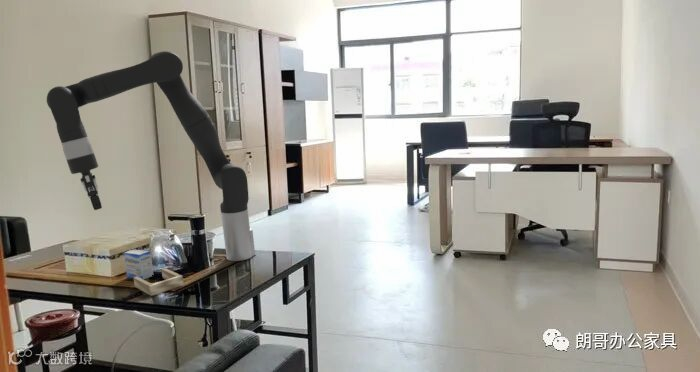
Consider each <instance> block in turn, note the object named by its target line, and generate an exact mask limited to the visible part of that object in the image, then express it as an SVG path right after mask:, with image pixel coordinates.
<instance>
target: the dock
mask: <svg viewBox="0 0 700 372" xmlns="http://www.w3.org/2000/svg"><path fill="white" fill-rule="evenodd" d="M161 276H162V279H164V280H162V281H161V280H160V281H158V282H155V283H150V282H148V281H147V280H146V279H144V280H143V279H141V278H139V277H134V278H132V279H133V283H134V284H133V286H134V287H135V288H136V289H138V290H139V291H141V292H144V293H145V294H148V295H149V296H152V297H153V296H155V295H158V294H160V293H164V292H167V291H169V290H173V289H177V288H178V287H182V286H184V278H183V275H182V274H179V273H177V272H175V271H172V270H170V269H168V268H166V267H164V268H161Z"/></svg>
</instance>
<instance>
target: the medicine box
mask: <svg viewBox="0 0 700 372" xmlns="http://www.w3.org/2000/svg"><path fill="white" fill-rule="evenodd" d="M123 259H124V266H125V272H126V278H128V277H130V278H129V279H133V278H134V277H139V278H141V279H143V280H146V279H149V278H150V277H153V276H154V268H153V263H152V262H153V261H152V256H151V251H149V250H148V251H147V250H141V249H130V250H127V251H126V252H124V253H123ZM152 275H153V276H152Z"/></svg>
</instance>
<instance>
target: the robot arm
mask: <svg viewBox="0 0 700 372" xmlns="http://www.w3.org/2000/svg"><path fill="white" fill-rule="evenodd" d="M183 68H184V65H183V61H182V59H181V58H180V56H179V55H178V54H176V53H175V52H171V51H168V50H167V51H165V50H163V51H158V52H155V53H153V54H152V55H151V56H150V57H149V58H148V59H147V60H145V61H143V62H140V63H137V64H135V65H131V66H127V67H123V68H120V69H115V70H111V71H106V72H103V73H100V74H97V75H93V76H91V77H87V78H84V79H82V80H81V81H79V82H76V83H74V84H69V85H67V86H55V87H52V88H51V89H50V90H49V91H48V93H47V95H46V104H47V106H48V107H49V109H50V112H51V114H52V116H53V119H54V121H55V124H56V131H57V134H58V137H59V140H60V143H61V146H62V151H63V154H64V157H65V160H66V162H67V163H66V164H67V166H68V169H69V171H70V174H72V175H77V174H80V175H81V178H80V182H81V185H82V186H83V189H84V191H85V193H87V197H88V198H89V199H90V203H91V205H92V208H93V210H94V211H97V210H101V209H103V207H102V202H101V199H100V195H99V191H98V188H99V187H98V184H97V178H96V176H95V174H92V172H91V170H94V169H98V167H99V164H98V161H97V157H96V155H95V153H94V150H93V149H94V148H93V147H92V144H91V142H90V139H89V138H88V133H87V132H86V129H85V126H84V123H83V121H82V119H81V114H80V111H79V108H81V107H83V106H86V105H88V104H91V103H96V102H100V101H103V100H106V99H108V98H111V97H115V96H117V95H120V94H123V93H125V92H127V91H131V90H133V89H136V88H139V87H141V86H145V85H149V84H155V83H156V84H157V86H158V87H159V89H160V90H161V91H162V93H163V94H164V95H165V97H166V99H167V100H168V101H169V103H170V106H171V108H172V109H173V111H174V113H175V116H176V117H177V119H178V121H179V122H180V124H181V126H182V127H183V130H184V131H185V132H186V134H187V137H188V138H189V139H190V141H191V143H192V145H193V146H194V147H195V148H196V151H197V152H198V153H199V154H200V156H201V157H202V159H203V161H204V163H205V165H206V167H207V169H208V171H209V173H210V175H211V178H212V179H213V182H214V184H215V185H216V186H217V188H218V189H221V190H222V202H221V203H220V206H219V207H220V216H221V223H222V230H223V241H224V248H225V257H226V260H227V261H229V262H240V261H245V260H249V259H251V258H253V257H254V256H256V249H255V248H256V247H255V241H254V239H255V238H254V232H253V229H252V228H250V227H251V226H250V225H251V224H250V218H249V209H248V203H249V186H248V184H249V183H248V177H247V173H246V171H245V169H243V168H242V167H241V166H238V165H234V164H232V163H231V161H230V160H229V159H228V157H227V156H226V154H225V152H224V151H223V149H222V146H221V143H220V138H219V134H218V131H217V128H216V125H215V124H214V122H213V120H212V118H211V116H210V115H209V113H208V111H207V110H206V108H205V107H204V106H203V104H202V103H201V102H200V101H199V100H198V99H197V98H196V97H195V96H194V95H193V93H192V92H191V91H190V90H189V88H188V87H187V85H186V83H185V82H184V79H183V77H182V73H183Z"/></svg>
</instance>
